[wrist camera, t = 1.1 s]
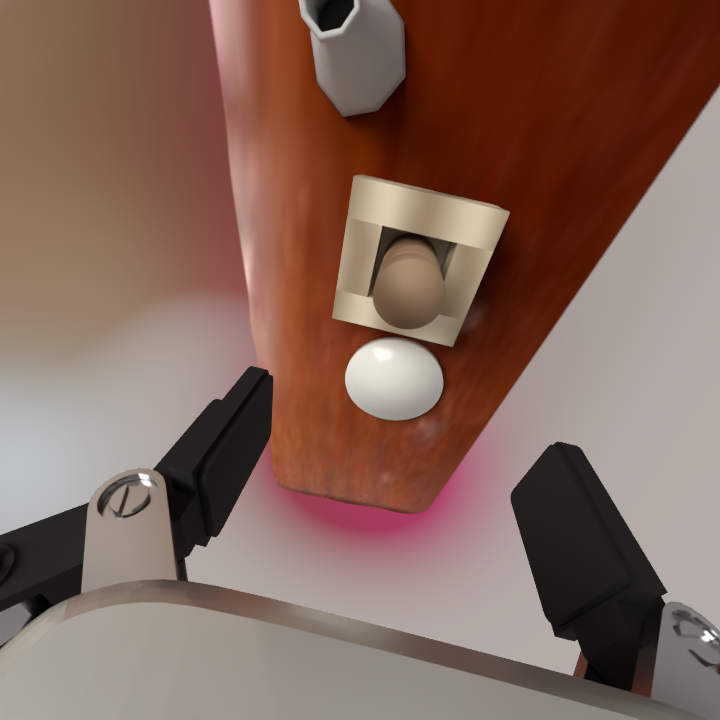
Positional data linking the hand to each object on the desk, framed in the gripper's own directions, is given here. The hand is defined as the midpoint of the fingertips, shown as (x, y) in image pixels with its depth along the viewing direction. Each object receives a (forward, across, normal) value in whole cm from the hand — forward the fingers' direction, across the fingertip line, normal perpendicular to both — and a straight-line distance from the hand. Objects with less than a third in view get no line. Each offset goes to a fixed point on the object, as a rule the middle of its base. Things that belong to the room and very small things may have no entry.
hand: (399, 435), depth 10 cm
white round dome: (+24, -2, +15) cm, 28 cm away
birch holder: (+24, 0, 0) cm, 24 cm away
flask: (+24, +8, -14) cm, 29 cm away
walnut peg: (+23, 0, 0) cm, 23 cm away
